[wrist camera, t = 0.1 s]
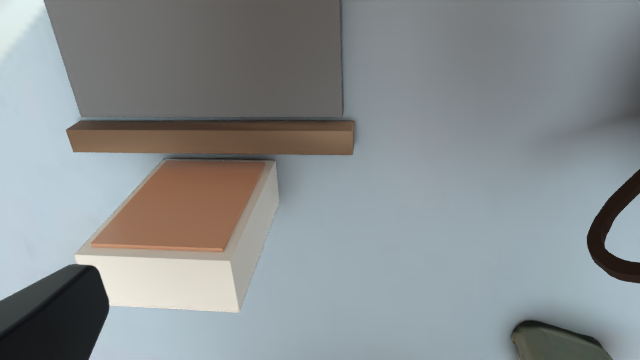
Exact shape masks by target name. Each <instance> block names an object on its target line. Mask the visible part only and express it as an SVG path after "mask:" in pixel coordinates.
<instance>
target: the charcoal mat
mask: <svg viewBox="0 0 640 360" xmlns="http://www.w3.org/2000/svg"><path fill="white" fill-rule="evenodd" d="M44 3H45V6H46V9H47V12H48V15H49V18H50V21H51V25H52V28H53V31H54V34H55V37H56V40H57V43H58V46H59V50H60V53H61V56H62V59H63V62H64V65H65V68H66V71H67V75H68V78H69V81H70V84H71V87H72V90H73V93H74V96H75V100H76V103H77V106H78V109H79V112H80V115H81V117H342V116H343V89H342V46H341V3H340V0H44Z"/></svg>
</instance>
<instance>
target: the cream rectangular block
mask: <svg viewBox="0 0 640 360" xmlns="http://www.w3.org/2000/svg"><path fill="white" fill-rule="evenodd" d="M279 203H280V199H279V189H278V180H277V170H276V161H275V160H213V159H163V160H162V161H161V162H160V163H159V164H158V165H157V166H156V167H155V169H154V170H153V171H152V172H151V173H150V174H149V175H148V176H147V177H146V178H145V179H144V180H143V181H142V182H141V184H140V185H139V186H138V187H137V188H136V189H135V190H134V191H133V192H132V193H131V194H130V195H129V196H128V197H127V199H126V200H125V201H124V202H123V203H122V204H121V205H120V206H119V207H118V208H117V209H116V210H115V211H114V212H113V214H112V215H111V216H110V217H109V218H108V219H107V220H106V221H105V222H104V223H103V224H102V225H101V226H100V227H99V229H98V230H97V231H96V232H95V233H94V234H93V235H92V236H91V237H90V238H89V239H88V240H87V241H86V242H85V244H84V245H83V246H82V247H81V248H80V249H79V250H78V251H77V252H76V253H75V254H74V256H75V258H76V261H77V264H82V265H93V266H95V267H96V268H97V269H98V270H99V272H100V275H101V278H102V281H103V284H104V287H105V290H106V293H107V295H108V298H109V305H111V306H130V307H148V308H166V309H184V310H203V311H221V312H240V309H241V306H242V304H243V301H244V298H245V296H246V293H247V290H248V287H249V285H250V282H251V279H252V277H253V274H254V271H255V268H256V266H257V263H258V260H259V257H260V255H261V252H262V249H263V247H264V244H265V241H266V238H267V236H268V233H269V230H270V228H271V225H272V222H273V219H274V217H275V214H276V211H277V208H278V206H279Z"/></svg>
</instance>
